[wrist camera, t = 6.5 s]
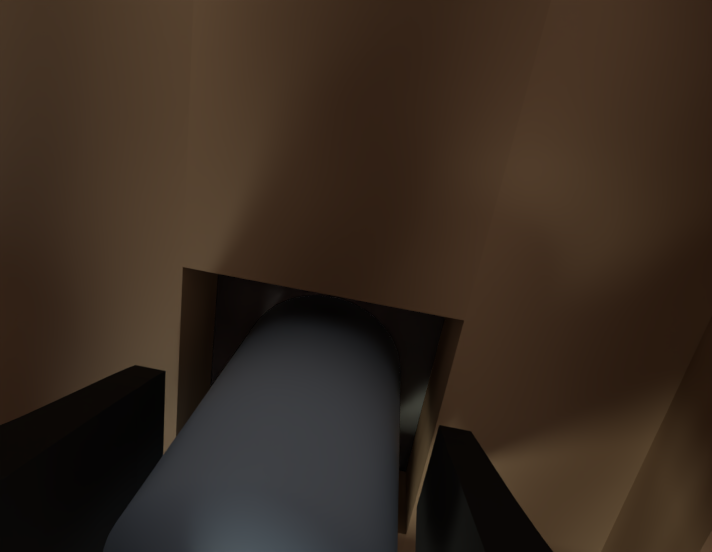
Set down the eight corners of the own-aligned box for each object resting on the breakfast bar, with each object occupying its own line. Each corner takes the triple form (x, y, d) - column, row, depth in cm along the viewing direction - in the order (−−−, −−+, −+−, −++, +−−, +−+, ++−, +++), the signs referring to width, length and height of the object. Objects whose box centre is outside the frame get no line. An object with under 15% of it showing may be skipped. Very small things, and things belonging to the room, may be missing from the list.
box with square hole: (-37, 445, 14) (-200, 570, 10) (-147, -275, 8) (-590, -587, 5) (573, 571, 13) (640, 752, 10) (882, -115, 8) (1326, -322, 4)
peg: (242, 422, 13) (112, 671, 7) (245, 285, 11) (87, 457, 6) (389, 445, 12) (376, 721, 7) (411, 307, 11) (417, 508, 5)
